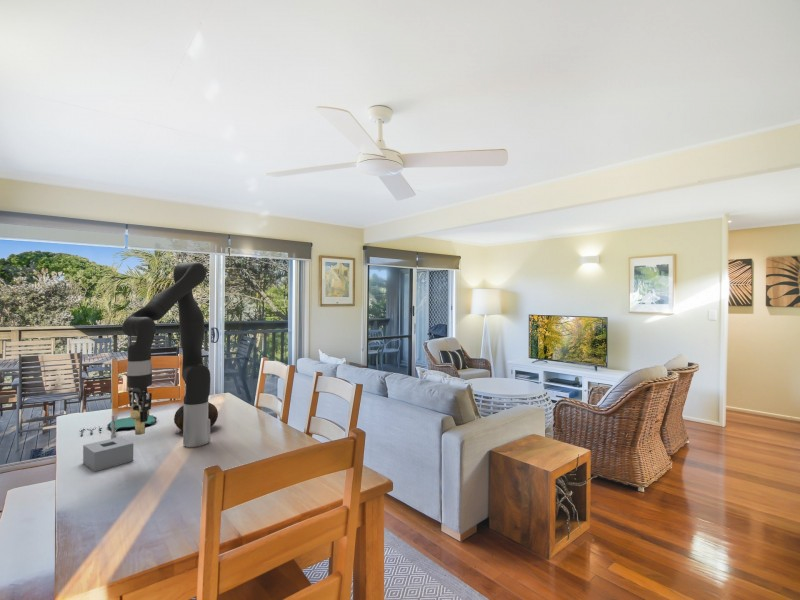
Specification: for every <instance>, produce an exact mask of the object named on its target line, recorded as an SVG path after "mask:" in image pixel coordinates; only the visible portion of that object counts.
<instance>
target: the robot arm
mask: <svg viewBox="0 0 800 600" xmlns="http://www.w3.org/2000/svg"><path fill="white" fill-rule="evenodd" d="M206 269H207V268H206V266H204V264H203V263H201V262H197V261H191V262H181V263H180V262H179V263H177V264H176V265H175V267H174V269H173V281H174V283H173V284H172V285H170V286H168V287H167V288H165V289H163V290H161V291H160V292H158V293H157V294H156V295H155V296H153V297H152V298H151V299H150V301H148V302H147V304H146V305H145V306H144V307H141V308H139V309H138V310H136V311H135V312H133V313H132V314H131V315H129V316H128V317H127V318H126V319H125V320H124V321H123V323H122V326H121V327H122V329H121V330H122V332H123V333H124V335H126V336H128V337H132V338H133V337H135V338H136V340H135V343H132V344H129V346H128V347H127V363H126V364H127V365H126V386H127V388H129V389H128V402H129V407H131V410H133V409H136V408H139V409H140V422H146V421H147V420H148V410H149V411H150V410H151V409H152V397H153V394H152V392H149V391H148V387H150V386H152V385H153V365H152V364H153V363H152V345H153V342H154V339H155V335H156V330H157V326H156V323H155V322H156V321H160V320H161V319H162V318H163V317H164V316H165V315H166V314H167V313H168V312H170V310H171V308H173V307H174V306H175V304H177V307H178V308H177V309H178V321H179V322H178V324H179V334H180V335H179V336H180V343H181V349H182V362H181V363H182V366H181V377H182V380H183V381H184V382H185V395H184V396H183V405H184V419H183V431H182V432H183V433H182V441H183V442H182V443H183V444H182V446H183V445H184V446H183V447H185V446H186V447H185V448H198V447H202V446H204V444H205V445H207V444H208V442H209V443H211V428H210V419H208V402H209V397H210V393H211V371H210V369H209V367H207V366H206V365H204V361H203V355H202V350H203V349H202V348H203V343H204V339H205V317H204V314H203V313H204V312H203V311H202V309H201V308H200V306H199V304H198V303H197V301H196V300H195V297H194V294H193V290H194V289H195V288H196V287H197V286H199V285H200V284H201V283H203V282H204V280H205V279H206V277H207V270H206ZM206 443H207V444H206ZM201 445H202V446H201ZM197 446H198V447H197Z"/></svg>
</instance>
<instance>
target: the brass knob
mask: <svg viewBox="0 0 800 600" xmlns="http://www.w3.org/2000/svg"><path fill="white" fill-rule="evenodd" d="M149 415H150V410H148V416H149ZM130 417H131V419H135V427H134V434H135V435H136V436H140V435H145V433H146V425H145V422H140V409H139V408H136V409H131V410H130Z"/></svg>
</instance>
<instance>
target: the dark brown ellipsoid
mask: <svg viewBox="0 0 800 600" xmlns="http://www.w3.org/2000/svg"><path fill="white" fill-rule="evenodd" d="M218 417H219V411H218V409H217V407H216V406H215V405H214V404H213V403H211V402H210V401H208V419H210V429H211V428H212V427H213V426H214V425H215V424H216V422H217V421H218ZM183 419H184V404H183V405H181V406H180V407H179V408H178V409H177V410H176V411H175V414H174V416H173V421H174V424H175V426H176V428H178V430H180V431H182V432H183Z"/></svg>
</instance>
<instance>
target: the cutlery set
mask: <svg viewBox="0 0 800 600" xmlns="http://www.w3.org/2000/svg"><path fill="white" fill-rule="evenodd" d="M114 421H115V430H116V431H118V430H124V429H132V428H134V429H135V419H131V416H129V417H124V418H123V417H122V418H118V419H114ZM156 421H157V416H154V415H150V414H149V416H148V420H147V421H146V422H145V426H146V425H149V426H150V425H152V424H154V423H155V422H156ZM107 427H108V428H109V429H110V430H111V431H112V427H111V421H110V422H109V423H108V424H107ZM101 429H102V430H103V427H102V428H100V427H99V428H98V431H99V430H101ZM83 430H85V431H86V428H85V429H84V428H83ZM83 430H81V431H80V437H83V434H84V431H83ZM102 430H101V432H100V431H99V433H101V434H102ZM89 433H90V434H91V435H93V434H94V433H93V430H90V432H89Z"/></svg>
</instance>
